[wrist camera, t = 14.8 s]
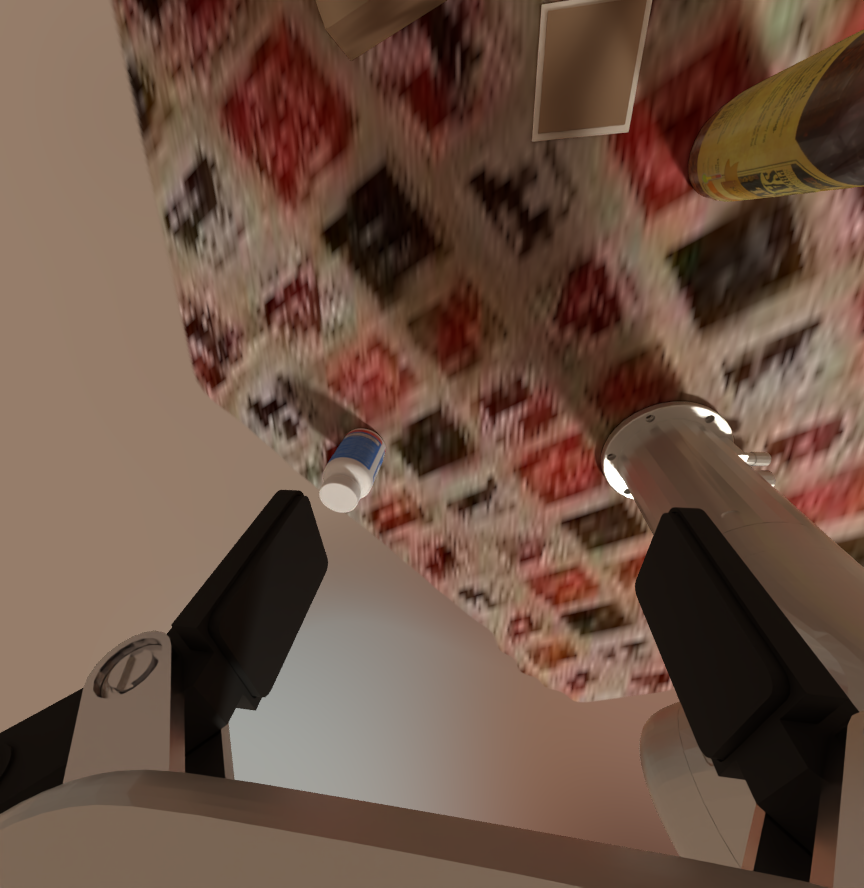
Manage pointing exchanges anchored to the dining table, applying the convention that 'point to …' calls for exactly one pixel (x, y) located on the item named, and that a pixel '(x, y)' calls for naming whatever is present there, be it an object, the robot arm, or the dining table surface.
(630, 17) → the swatch
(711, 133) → the sauce bottle
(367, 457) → the pill bottle
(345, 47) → the tan square block
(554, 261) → the dining table surface
